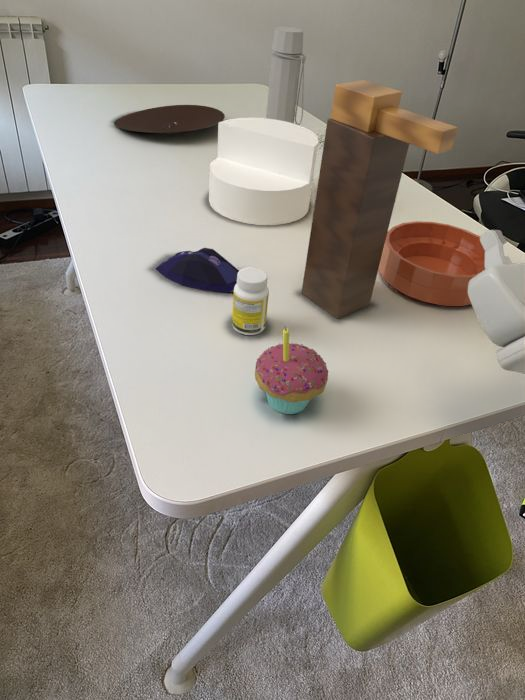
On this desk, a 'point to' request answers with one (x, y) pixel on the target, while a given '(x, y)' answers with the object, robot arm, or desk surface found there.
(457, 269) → the bowl
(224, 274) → the computer mouse
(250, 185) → the white stepped cylinder
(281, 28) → the water bottle
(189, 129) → the plate
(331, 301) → the stand
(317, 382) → the cupcake
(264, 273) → the supplement bottle
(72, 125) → the desk surface
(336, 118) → the wooden t-shaped block
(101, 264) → the desk surface
